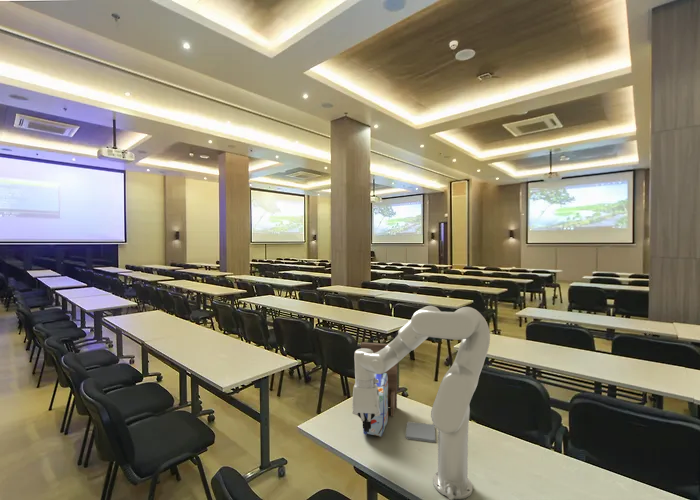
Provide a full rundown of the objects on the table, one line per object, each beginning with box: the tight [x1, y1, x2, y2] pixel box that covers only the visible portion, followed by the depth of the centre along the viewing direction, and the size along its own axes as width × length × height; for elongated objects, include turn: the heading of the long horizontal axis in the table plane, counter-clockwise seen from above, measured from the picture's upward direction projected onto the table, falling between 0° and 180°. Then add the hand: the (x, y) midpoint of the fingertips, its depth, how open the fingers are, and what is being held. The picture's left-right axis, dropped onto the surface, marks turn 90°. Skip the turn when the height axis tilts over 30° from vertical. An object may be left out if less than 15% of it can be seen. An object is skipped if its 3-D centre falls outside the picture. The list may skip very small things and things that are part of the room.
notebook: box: [405, 421, 437, 443], centre depth 143 cm, size 12×12×2 cm
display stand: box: [360, 341, 398, 417], centre depth 163 cm, size 10×18×31 cm, turn 77°
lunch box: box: [362, 373, 389, 437], centre depth 149 cm, size 28×10×22 cm, turn 171°
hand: (367, 430), depth 127 cm, fingers closed
